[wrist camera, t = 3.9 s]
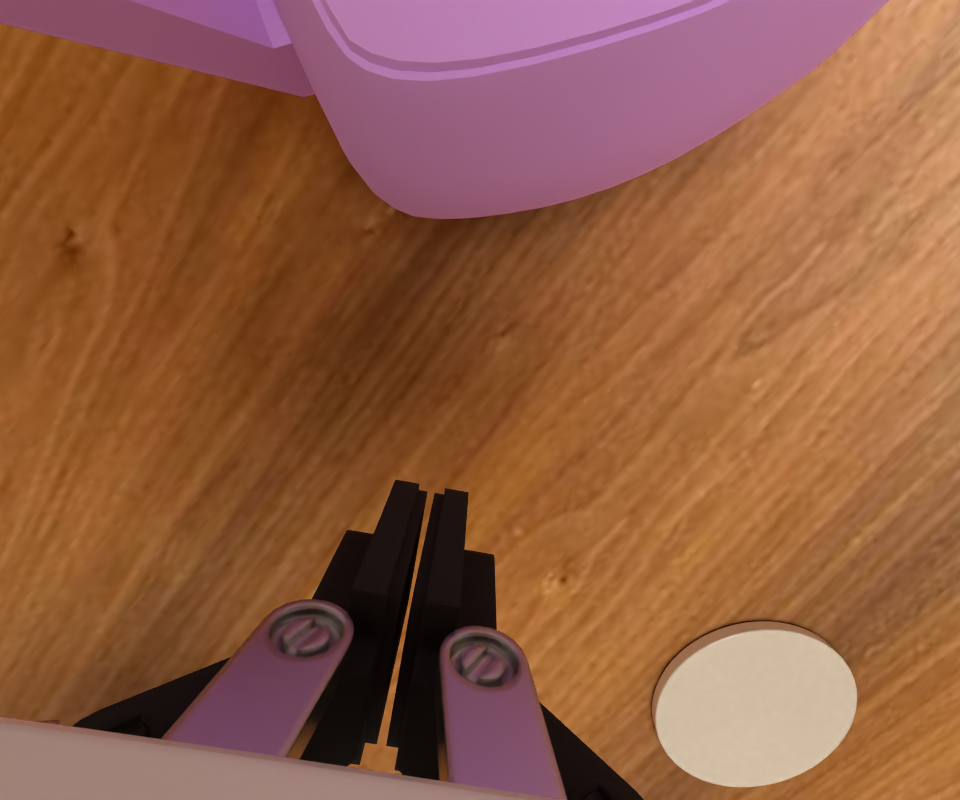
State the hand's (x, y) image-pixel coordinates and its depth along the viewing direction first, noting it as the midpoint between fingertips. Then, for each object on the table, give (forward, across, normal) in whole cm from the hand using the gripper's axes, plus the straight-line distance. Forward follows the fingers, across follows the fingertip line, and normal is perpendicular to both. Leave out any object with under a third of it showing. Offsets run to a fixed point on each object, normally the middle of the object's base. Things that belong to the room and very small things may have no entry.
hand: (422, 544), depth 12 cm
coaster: (+9, -16, +11) cm, 21 cm away
